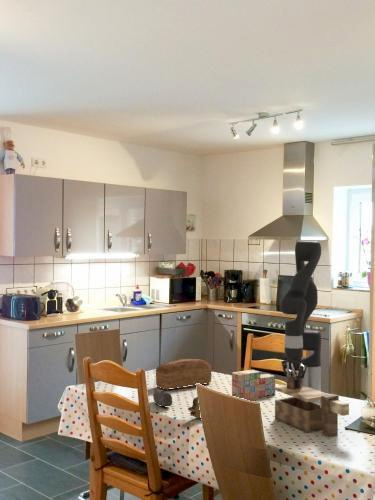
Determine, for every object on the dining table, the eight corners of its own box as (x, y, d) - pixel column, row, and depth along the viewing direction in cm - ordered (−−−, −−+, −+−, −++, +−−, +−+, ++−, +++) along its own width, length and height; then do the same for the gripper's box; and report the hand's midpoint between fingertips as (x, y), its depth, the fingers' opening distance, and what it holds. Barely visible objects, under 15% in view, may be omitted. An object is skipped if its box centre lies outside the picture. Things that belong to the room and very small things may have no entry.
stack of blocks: (267, 392, 276) (267, 367, 276) (275, 395, 270) (275, 369, 270) (231, 397, 266) (231, 372, 266) (238, 400, 260) (238, 374, 260)
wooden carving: (209, 412, 242) (209, 389, 242) (218, 414, 239) (218, 390, 239) (185, 421, 229) (185, 396, 229) (194, 423, 226) (194, 398, 226)
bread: (152, 387, 286) (152, 361, 286) (201, 379, 302) (201, 355, 302) (163, 392, 275) (163, 365, 275) (214, 384, 292) (214, 358, 292)
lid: (275, 390, 232) (275, 375, 232) (297, 386, 238) (297, 371, 238) (307, 402, 214) (307, 386, 214) (330, 397, 220) (330, 382, 220)
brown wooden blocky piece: (274, 419, 232) (274, 383, 232) (297, 415, 237) (297, 379, 237) (320, 438, 208) (320, 398, 207) (344, 433, 213) (344, 394, 213)
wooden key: (320, 407, 214) (320, 397, 214) (326, 406, 216) (326, 396, 216) (342, 415, 204) (342, 404, 204) (348, 414, 205) (348, 403, 205)
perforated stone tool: (149, 401, 258) (149, 386, 258) (160, 400, 261) (160, 385, 261) (162, 410, 245) (162, 394, 245) (173, 408, 247) (173, 393, 247)
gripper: (312, 347, 226) (312, 390, 226) (289, 342, 238) (289, 382, 238) (297, 349, 222) (297, 392, 222) (275, 344, 234) (275, 384, 235)
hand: (293, 387), depth 230 cm, fingers closed on lid, 3 cm apart
